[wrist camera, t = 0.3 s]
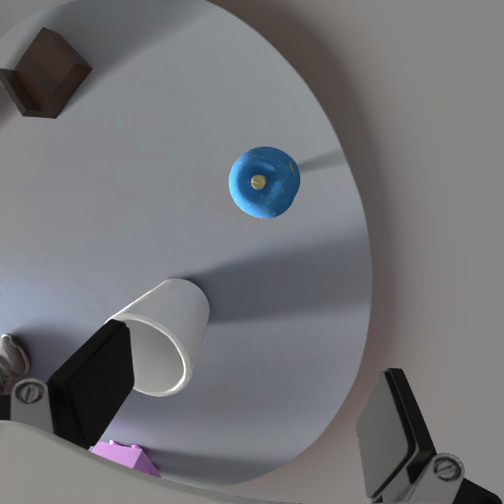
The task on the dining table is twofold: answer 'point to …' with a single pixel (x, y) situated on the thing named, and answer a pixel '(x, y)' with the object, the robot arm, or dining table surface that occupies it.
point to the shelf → (45, 76)
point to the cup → (166, 335)
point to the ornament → (264, 182)
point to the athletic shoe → (11, 363)
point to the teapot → (126, 456)
